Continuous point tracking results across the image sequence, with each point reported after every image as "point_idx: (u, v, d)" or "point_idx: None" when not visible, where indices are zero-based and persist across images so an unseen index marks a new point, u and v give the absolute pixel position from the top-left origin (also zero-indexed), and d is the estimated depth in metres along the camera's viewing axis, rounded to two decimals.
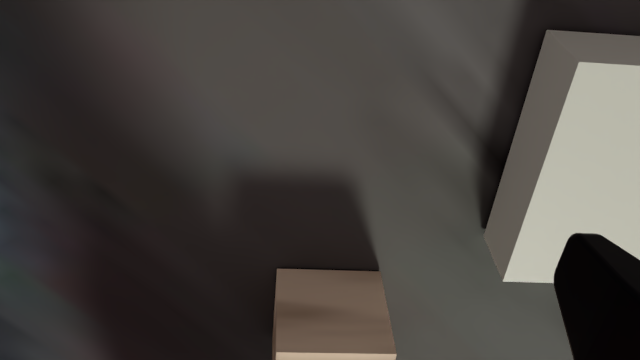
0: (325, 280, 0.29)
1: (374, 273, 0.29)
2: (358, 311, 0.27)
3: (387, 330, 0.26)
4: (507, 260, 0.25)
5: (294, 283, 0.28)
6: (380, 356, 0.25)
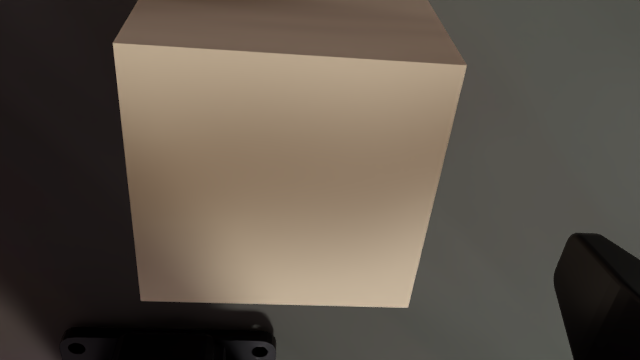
0: None
1: None
2: (358, 4, 0.11)
3: (435, 31, 0.10)
4: None
5: None
6: (420, 74, 0.09)
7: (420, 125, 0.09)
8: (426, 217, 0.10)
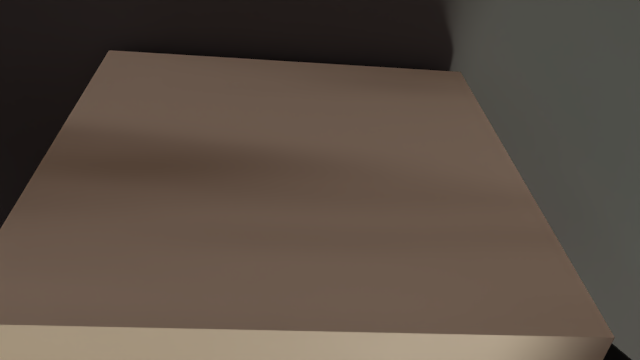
0: (273, 82, 0.08)
1: (444, 75, 0.09)
2: (399, 164, 0.07)
3: (534, 233, 0.06)
4: None
5: (156, 84, 0.08)
6: (529, 351, 0.05)
7: None
8: None
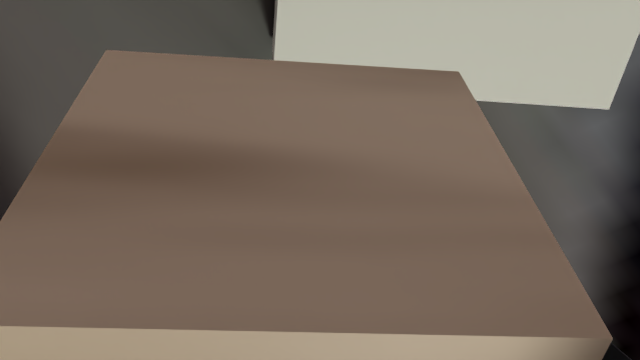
0: (271, 82, 0.08)
1: (442, 75, 0.09)
2: (396, 165, 0.07)
3: (533, 233, 0.06)
4: (274, 50, 0.17)
5: (153, 85, 0.08)
6: (526, 353, 0.05)
7: None
8: None
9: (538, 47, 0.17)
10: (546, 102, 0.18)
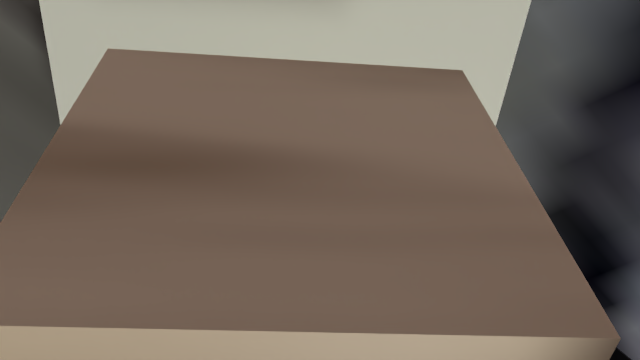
0: (273, 80, 0.08)
1: (445, 73, 0.09)
2: (400, 163, 0.07)
3: (537, 232, 0.06)
4: None
5: (155, 83, 0.08)
6: (533, 352, 0.05)
7: None
8: None
9: None
10: None
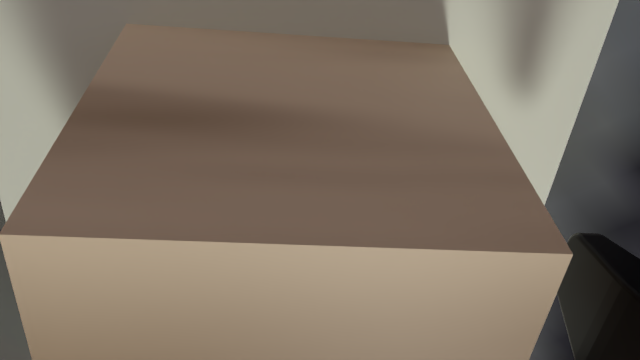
0: (277, 51, 0.09)
1: (433, 47, 0.09)
2: (390, 119, 0.07)
3: (509, 175, 0.07)
4: None
5: (170, 52, 0.08)
6: (498, 267, 0.06)
7: (492, 330, 0.06)
8: None
9: None
10: None
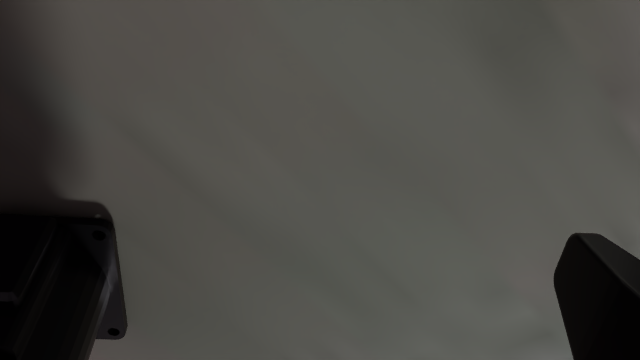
0: None
1: None
2: None
3: None
4: None
5: None
6: None
7: None
8: None
9: None
10: None
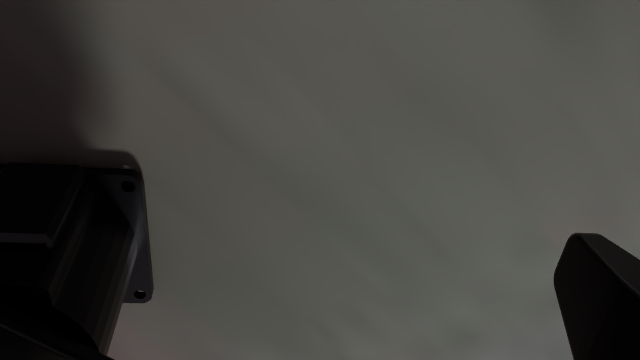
0: None
1: None
2: None
3: None
4: None
5: None
6: None
7: None
8: None
9: None
10: None
